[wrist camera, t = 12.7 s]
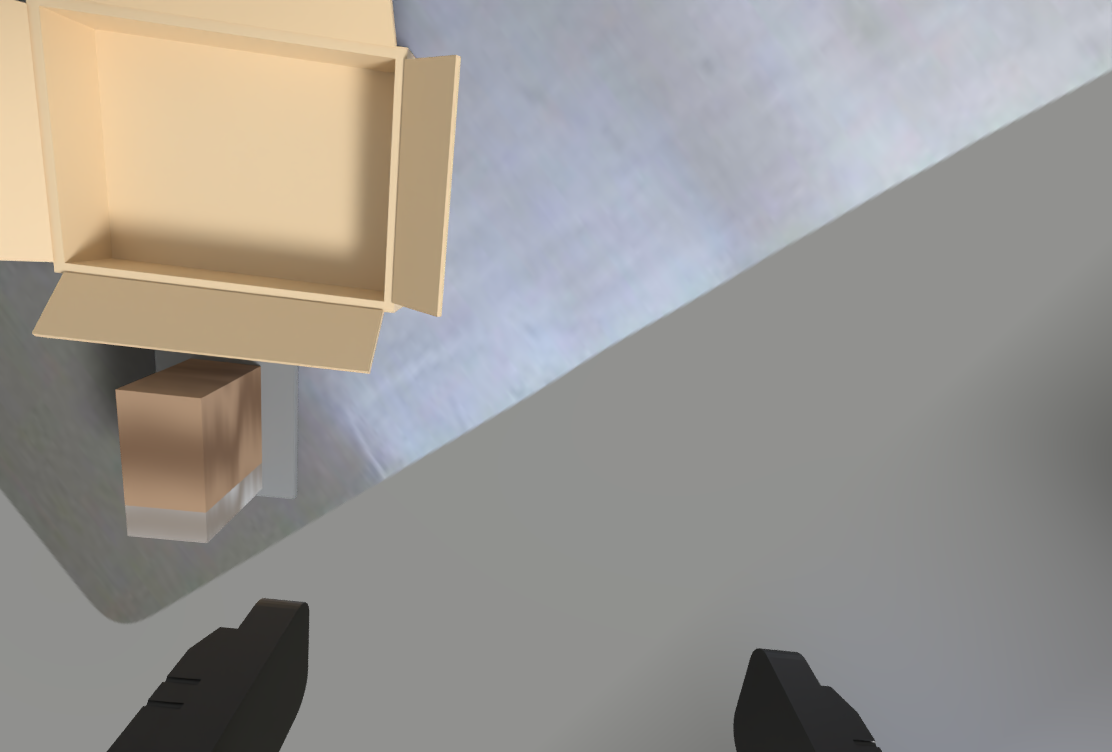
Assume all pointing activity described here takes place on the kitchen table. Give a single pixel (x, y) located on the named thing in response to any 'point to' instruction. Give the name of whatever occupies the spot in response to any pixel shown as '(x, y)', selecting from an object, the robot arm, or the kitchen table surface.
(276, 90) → the carton
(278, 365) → the mat
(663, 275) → the kitchen table surface
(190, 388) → the tan rectangular block
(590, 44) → the kitchen table surface
